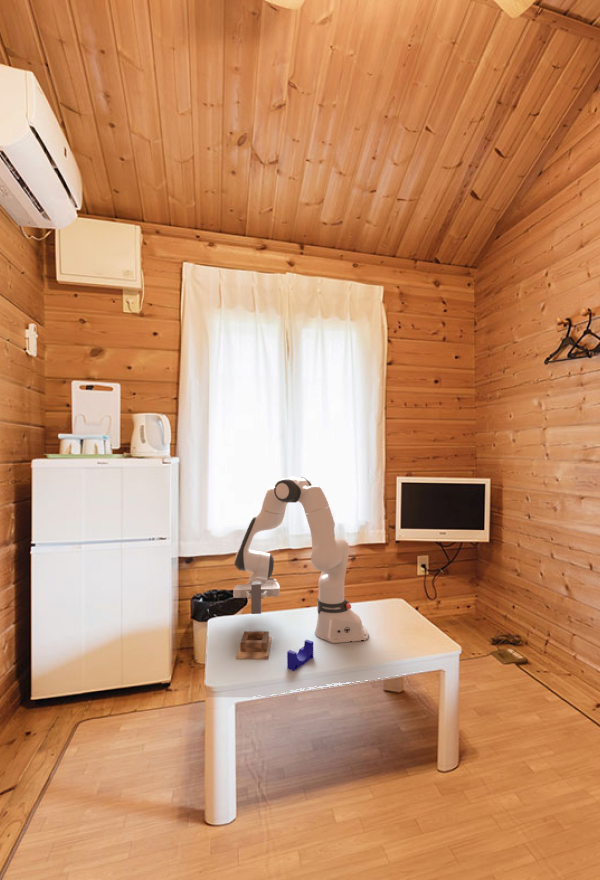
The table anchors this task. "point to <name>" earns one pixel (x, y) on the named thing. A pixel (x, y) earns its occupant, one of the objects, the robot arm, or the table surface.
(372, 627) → the table surface
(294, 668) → the blue cradle bracket
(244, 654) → the socket board
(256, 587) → the peg
